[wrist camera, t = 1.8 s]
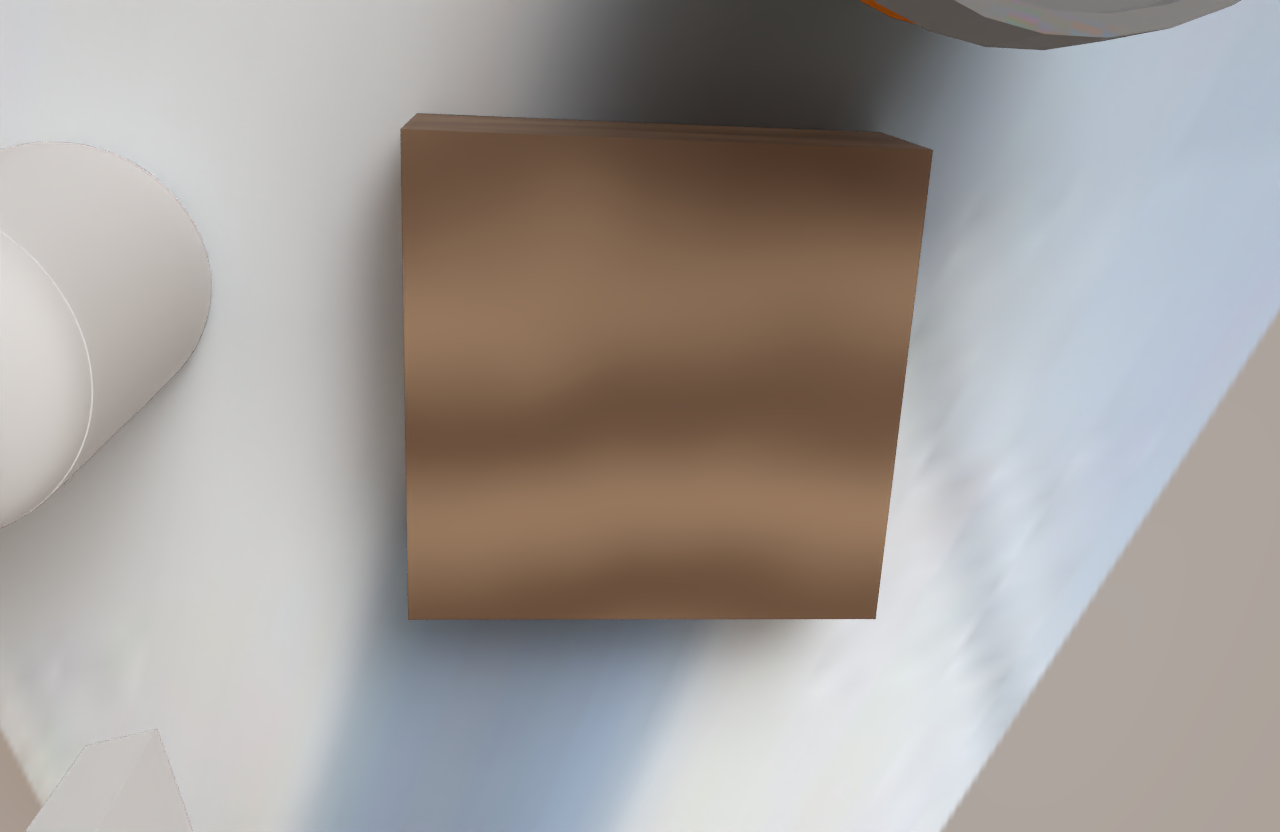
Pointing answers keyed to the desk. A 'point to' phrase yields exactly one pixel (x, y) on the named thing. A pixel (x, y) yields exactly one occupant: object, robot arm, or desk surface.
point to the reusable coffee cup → (1045, 19)
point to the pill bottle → (86, 307)
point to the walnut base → (652, 366)
